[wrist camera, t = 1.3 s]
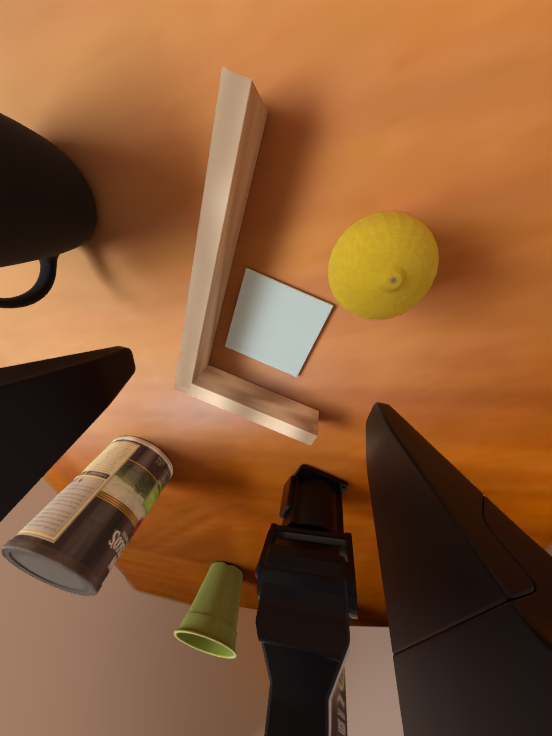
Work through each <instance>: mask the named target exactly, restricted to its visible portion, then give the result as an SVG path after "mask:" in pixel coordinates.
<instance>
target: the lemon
mask: <svg viewBox="0 0 552 736" xmlns="http://www.w3.org/2000/svg"><path fill="white" fill-rule="evenodd" d="M438 263H439V255H438V246H437V243H436V241H435V239H434V236H433V234H432V232H431V231H430V230H429V228H428V227H427V226H426V225H425V224H424V223H423V222H422V221H421V220H419V219H418V218H416V217H414V216H412V215H410V214H408V213H404V212H399V211H393V210H392V211H383V212H376V213H373V214H371V215H368V216H366V217H363V218H361V219H360V220H359V221H357V222H356V223H354V224H353V225H351V226H350V227H349V228H348V229H347V230H346V231H345V232H344V233H343V234H342V236H341V237H340V238H339V240H338V242H337V243H336V245H335V247H334V248H333V251H332V254H331V257H330V260H329V267H328V279H329V285H330V288H331V291H332V293H333V295H334V297H335V299H336V300H337V301H338V303H339V304H340V305H341V306H342V307H343V308H344V309H345V310H347V311H348V312H350V313H351V314H353V315H355V316H358V317H361V318H364V319H371V320H382V319H389V318H392V317H395V316H398V315H401V314H403V313H404V312H406V311H408V310H409V309H411V308H413V307H414V306H415V305H416V304H417V303H418V302H419V301H420V300H421V299H423V297H424V296H425V295H426V293H427V292H428V290H429V289H430V288H431V286H432V283H433V281H434V279H435V276H436V274H437V269H438Z"/></svg>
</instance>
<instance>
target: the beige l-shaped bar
mask: <svg viewBox="0 0 552 736" xmlns="http://www.w3.org/2000/svg"><path fill="white" fill-rule="evenodd" d="M267 114H268V111H267V109H266V107H265V105H264V103H263V101H262V99H261V97H260V95H259V93H258V91H257V89H256V87H255V85H254V84H253V82H252V80H251V79H248V78H246V77H244V76H242V75H240V74H237V73H235V72H233V71H231V70H228V69H226V68H224V67H222V71H221V78H220V85H219V91H218V98H217V105H216V112H215V118H214V125H213V132H212V139H211V145H210V152H209V159H208V165H207V172H206V179H205V186H204V192H203V199H202V206H201V213H200V219H199V226H198V233H197V239H196V246H195V253H194V260H193V266H192V273H191V280H190V287H189V293H188V300H187V307H186V314H185V320H184V327H183V334H182V340H181V347H180V354H179V361H178V367H177V374H176V381H175V388H174V389H176V390H178V391H180V392H183V393H185V394H188V395H190V396H192V397H195V398H197V399H200V400H202V401H205V402H207V403H209V404H212V405H214V406H217V407H219V408H221V409H224V410H226V411H229V412H231V413H233V414H236V415H238V416H241V417H243V418H245V419H248V420H250V421H253V422H255V423H257V424H260V425H262V426H265V427H267V428H269V429H272V430H274V431H277V432H279V433H281V434H284V435H286V436H289V437H291V438H293V439H296V440H298V441H301V442H303V443H305V444H308V445H310V446H311V444H312V443H313V442H314V440H315V439H316V437H317V435H318V416H319V411H317V410H315V409H313V408H310V407H308V406H305V405H303V404H301V403H298V402H296V401H294V400H291V399H289V398H286V397H284V396H282V395H279V394H277V393H275V392H272V391H270V390H267V389H265V388H263V387H260V386H258V385H255V384H253V383H251V382H248V381H246V380H244V379H241V378H239V377H236V376H234V375H232V374H229V373H227V372H225V371H222V370H220V369H217V368H215V367H213V366H210V365H208V363H209V359H210V355H211V351H212V347H213V342H214V338H215V334H216V330H217V325H218V321H219V317H220V313H221V309H222V304H223V300H224V296H225V292H226V287H227V283H228V279H229V275H230V271H231V266H232V262H233V258H234V254H235V250H236V245H237V241H238V237H239V233H240V228H241V224H242V220H243V216H244V212H245V207H246V203H247V199H248V195H249V190H250V186H251V182H252V178H253V174H254V169H255V165H256V161H257V157H258V152H259V148H260V144H261V140H262V136H263V131H264V127H265V123H266V119H267Z"/></svg>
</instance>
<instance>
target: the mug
mask: <svg viewBox="0 0 552 736" xmlns="http://www.w3.org/2000/svg"><path fill="white" fill-rule="evenodd" d="M95 225H96V207H95V202H94V199H93V196H92V193H91V190H90V188H89V186H88V184H87V182H86V180H85V178H84V176H83V175H82V173H81V172H80V170H79V169H78V168H77V166H76V165H75V164H74V163H73V162H72V161H71V160H70V159H69V157H67V156H66V155H65V154H64V153H63V152H62V151H61V150H60V149H58V148H57V147H56V146H55V145H54V144H52V143H51V142H49V141H48V140H47V139H45V138H44V137H42V136H41V135H39V134H37V133H36V132H34V131H32V130H30V129H29V128H27V127H25V126H23V125H22V124H20V123H18V122H16V121H14V120H13V119H11V118H9V117H7V116H5V115H3V114H1V113H0V267H5V266H10V265H15V264H20V263H25V262H30V261H34V260H39V261H40V274H39V277H38V280H37V282H36V283H35V285H34V286H33V287H32V288H31V289H30V290H29V291H27V292H26V293H24V294H22V295H20V296H16V297H12V298H0V308H19V307H25V306H29V305H31V304H34V303H36V302H38V301H39V300H41V299H42V298H43V297H44V296H45V295H46V294H47V293H48V292H49V291H50V289H51V288H52V286H53V283H54V281H55V277H56V268H57V259H58V256H59V255H60V254H61V253H64V252H67V251H70V250H72V249H75V248H77V247H78V246H80V245H82V244H83V243H84V242H86V241H87V240H88V239H89V238H90V236H91V235H92V233H93V231H94V229H95Z"/></svg>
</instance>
